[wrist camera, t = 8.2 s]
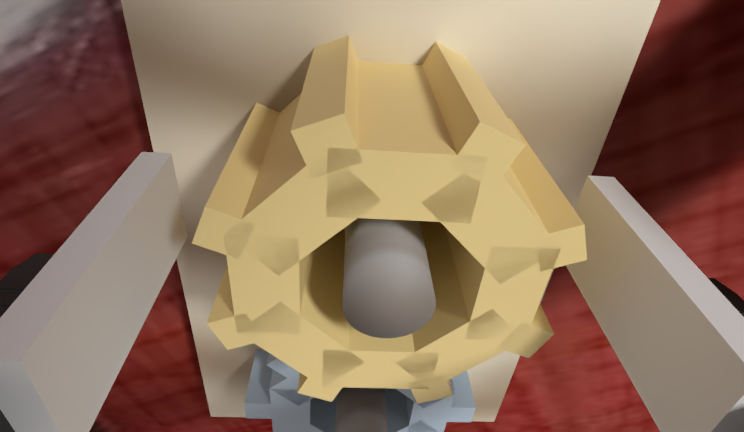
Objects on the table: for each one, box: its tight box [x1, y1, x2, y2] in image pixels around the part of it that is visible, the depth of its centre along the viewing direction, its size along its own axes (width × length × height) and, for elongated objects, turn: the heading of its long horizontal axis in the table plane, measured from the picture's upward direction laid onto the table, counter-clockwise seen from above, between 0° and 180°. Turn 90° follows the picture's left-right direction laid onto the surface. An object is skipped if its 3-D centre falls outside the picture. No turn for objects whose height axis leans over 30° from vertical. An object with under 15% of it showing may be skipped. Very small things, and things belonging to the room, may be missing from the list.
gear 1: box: [192, 35, 587, 404], centre depth 13 cm, size 8×8×6 cm
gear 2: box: [244, 350, 476, 432], centre depth 19 cm, size 9×9×2 cm
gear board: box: [121, 0, 660, 432], centre depth 15 cm, size 20×14×8 cm
